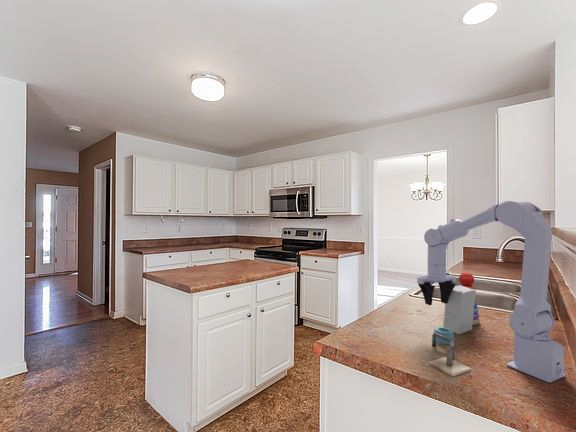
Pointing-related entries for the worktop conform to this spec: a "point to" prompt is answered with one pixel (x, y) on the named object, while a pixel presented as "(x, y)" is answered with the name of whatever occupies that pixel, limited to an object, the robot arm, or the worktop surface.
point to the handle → (443, 339)
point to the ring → (444, 334)
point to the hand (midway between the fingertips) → (436, 303)
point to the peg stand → (449, 364)
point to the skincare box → (460, 310)
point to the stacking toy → (467, 281)
